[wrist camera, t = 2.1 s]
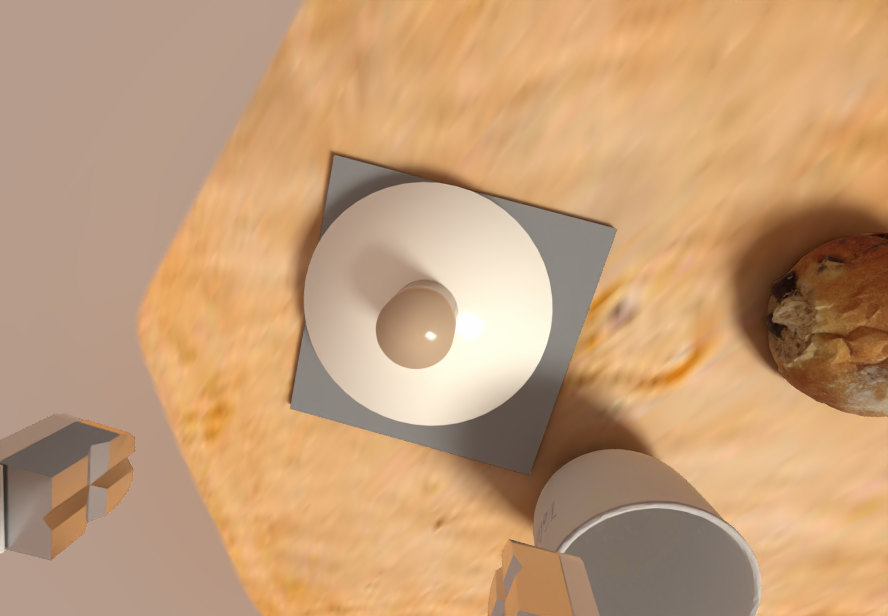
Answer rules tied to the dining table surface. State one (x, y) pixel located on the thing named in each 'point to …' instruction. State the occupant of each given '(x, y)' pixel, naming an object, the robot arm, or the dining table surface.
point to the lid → (428, 303)
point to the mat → (528, 411)
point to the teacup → (646, 538)
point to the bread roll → (835, 324)
